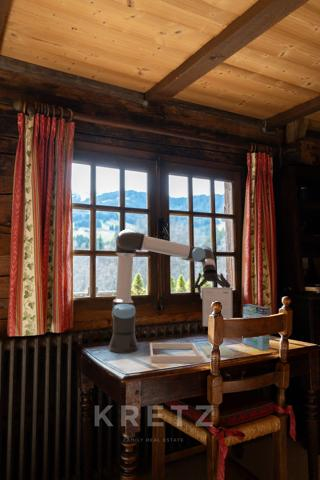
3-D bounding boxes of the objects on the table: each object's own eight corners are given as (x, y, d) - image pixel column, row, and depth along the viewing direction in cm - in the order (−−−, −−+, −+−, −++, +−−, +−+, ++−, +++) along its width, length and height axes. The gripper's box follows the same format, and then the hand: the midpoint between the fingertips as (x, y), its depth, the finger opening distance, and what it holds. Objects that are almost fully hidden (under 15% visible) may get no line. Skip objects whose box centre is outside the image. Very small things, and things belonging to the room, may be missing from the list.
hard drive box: (233, 325, 192) (233, 287, 193) (232, 328, 184) (232, 288, 185) (203, 323, 196) (204, 286, 196) (201, 326, 188) (202, 287, 189)
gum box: (242, 343, 212) (242, 304, 214) (249, 342, 214) (249, 303, 216) (262, 351, 194) (262, 308, 196) (270, 350, 196) (270, 307, 197)
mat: (206, 357, 180) (206, 355, 180) (200, 347, 200) (200, 345, 200) (234, 357, 180) (234, 355, 180) (225, 347, 200) (225, 346, 200)
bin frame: (151, 362, 168) (151, 356, 168) (149, 348, 196) (149, 342, 196) (202, 362, 169) (202, 356, 170) (193, 348, 197) (193, 343, 198)
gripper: (229, 273, 213) (235, 302, 197) (187, 272, 212) (190, 301, 196) (231, 264, 208) (238, 293, 192) (188, 263, 207) (192, 292, 191)
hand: (214, 297), depth 194 cm, fingers closed on hard drive box, 12 cm apart
